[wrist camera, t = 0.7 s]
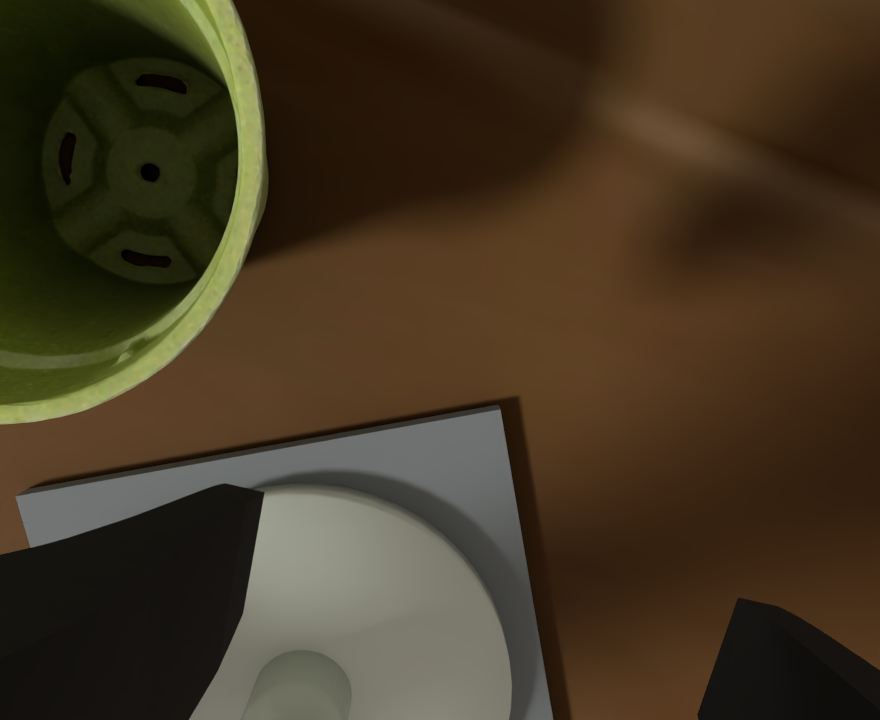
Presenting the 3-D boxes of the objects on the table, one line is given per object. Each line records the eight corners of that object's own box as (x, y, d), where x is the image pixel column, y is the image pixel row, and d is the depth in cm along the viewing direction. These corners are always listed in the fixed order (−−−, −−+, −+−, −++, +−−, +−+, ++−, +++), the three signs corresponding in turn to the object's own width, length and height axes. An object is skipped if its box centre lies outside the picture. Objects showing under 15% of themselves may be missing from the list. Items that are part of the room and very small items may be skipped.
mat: (145, 891, 23) (138, 908, 23) (26, 488, 21) (15, 496, 20) (568, 818, 23) (572, 834, 23) (498, 404, 21) (500, 409, 20)
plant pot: (352, 17, 19) (290, -160, 10) (314, 365, 21) (234, 458, 12) (-8, -36, 19) (-378, -266, 10) (-18, 322, 20) (-345, 387, 12)
